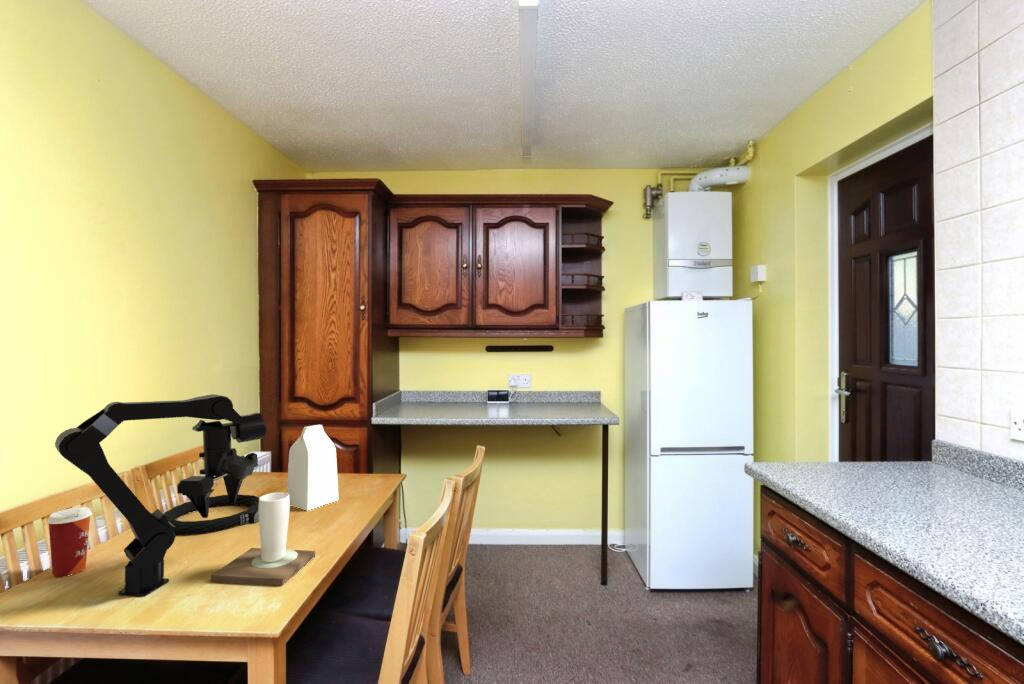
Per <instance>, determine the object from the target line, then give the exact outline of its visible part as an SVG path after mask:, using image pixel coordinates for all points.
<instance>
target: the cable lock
mask: <svg viewBox="0 0 1024 684" xmlns="http://www.w3.org/2000/svg"><path fill="white" fill-rule="evenodd" d="M259 498H260V497H257V496H256V495H250V494H240V493H238V496H237V499H236V502H235V503H230V501H229V498H228V494H222V495H214V496H209V509H210V507H212V508H216V507H226V506H225V505H228V506H245V505H246V506H245V507H249V508H247V509H246V510H243V511H239V512H237V513H234V514H231V515H228V516H221V517H218V518H212V519H205V520H202V519H201V520H195V521H194V520H193V521H192V520H191V521H190V520H187V521H186V520H185V521H182V520H177V519H178V518H180V516H181V517H183V516H185V515H187V514H190V513H189V512H191V513H194V512H193V511H195V512H198V510H197V509H196V507H195V506H194V504H193V503H192V502H191V501H186V502H184V503H181V504H179V505H175V506H173V507H172V508H171V509H168V510H167V511H165V512H163V514H164V515H165V516H166V518H167V520H168V521H169V522H170V523H171V524H172V525H173V526H175V527H176V528H175V529H172V530H173V531H174V533H175V535H195V534H196V535H197V533H200V534H208V533H207V532H209V533H212V532H213V531H214V532H219V530H220V531H224V530H223V529H225V530H228V528H229V529H231V527H232V528H233V527H234V528H235V527H238V526H240V527H241V526H244V525H247V524H251V523H252V524H254V523H255V524H258V523H259V518H258V505H259ZM182 515H183V516H182ZM254 521H255V522H254ZM248 522H249V523H248ZM257 522H258V523H257ZM237 525H238V526H237ZM214 532H213V533H214Z"/></svg>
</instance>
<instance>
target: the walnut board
mask: <svg viewBox="0 0 1024 684" xmlns="http://www.w3.org/2000/svg"><path fill="white" fill-rule="evenodd" d="M313 557H314V558H316V550H304V549H303V550H301V549H290V548H286V555H285V557H284V558H283V559H281V560H279V561H276V562H270V563H268V562H263V561H262V559H261V547H260V548H259V547H251V548H250V549H248V550H246V551H245V552H244V553H242V554H240V555H239V556H237V557H236V558H234V559H233V560H231V561H230V562H229V563H227V564H225V565H224V566H223V567H221V568H219V569H218V570H216V571H215V572H213V573H212V574H211V575H210V582H211V583H225V584H227V583H228V584H243V585H244V584H245V585H246V584H247V585H259V586H260V585H264V586H278V585H283V584H284V583H285V584H286V583H288V581H290V580H291V579H292V578H293V577H294V576H295V575H296V574H297V573H298V571H299V570H300V569H301V568H302V567H303V566H304V565H305V566H307V565H308V564H309V563H310V562H311V561H312V560H313V559H314V558H313ZM312 558H313V559H312ZM311 559H312V560H311ZM310 560H311V561H310ZM309 561H310V562H309ZM308 562H309V563H308ZM307 563H308V564H307ZM306 564H307V565H306ZM305 566H304V567H305ZM304 567H303V568H304ZM303 568H302V569H303ZM302 569H301V570H302ZM301 570H300V571H301ZM300 571H299V572H300ZM296 572H297V573H296ZM295 573H296V574H295ZM294 574H295V575H294ZM293 575H294V576H293ZM292 576H293V577H292ZM291 577H292V578H291ZM290 578H291V579H290ZM289 579H290V580H289ZM285 584H284V585H285ZM284 585H283V586H284Z"/></svg>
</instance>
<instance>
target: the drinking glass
mask: <svg viewBox="0 0 1024 684" xmlns="http://www.w3.org/2000/svg"><path fill="white" fill-rule="evenodd" d="M258 498H259V505H258V518H259V522H258V529H259V541H260V548H261V559H262V561H263V562H268V563H270V562H276V561H279V560H281V559H283V558H284V557H285V555H286V549H287V539H288V529H289V520H290V510H291V509H290V508H291V506H290V499H289V494H288V493H287V492H271V493H267V494H264V495H261V496H260V497H258Z"/></svg>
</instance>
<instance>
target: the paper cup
mask: <svg viewBox="0 0 1024 684" xmlns="http://www.w3.org/2000/svg"><path fill="white" fill-rule="evenodd" d="M92 515H93V513H92V512H91V510H90V508H89V507H86V506H85V507H84V506H83V507H80V506H79V507H72V508H71V507H70V508H67V509H66V508H65V509H62V510H61V509H60V510H58V511H56V512H52V513H51V514H50V515H49V517H48V519H47V521H46V523H47V524H48V531H49V534H48V535H49V545H50V560H51V571H52V577H53V576H54V577H53V578H58V577H59V578H64V577H63V576H67V577H69V576H68V575H71V574H74V575H76V574H75V573H77V572H79V573H81V572H83V571H84V570H86V566H87V555H88V548H89V547H88V545H89V531H90V521H91V516H92ZM83 569H84V570H83ZM82 570H83V571H82ZM80 571H81V572H80ZM77 574H78V573H77ZM71 576H72V575H71Z"/></svg>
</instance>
